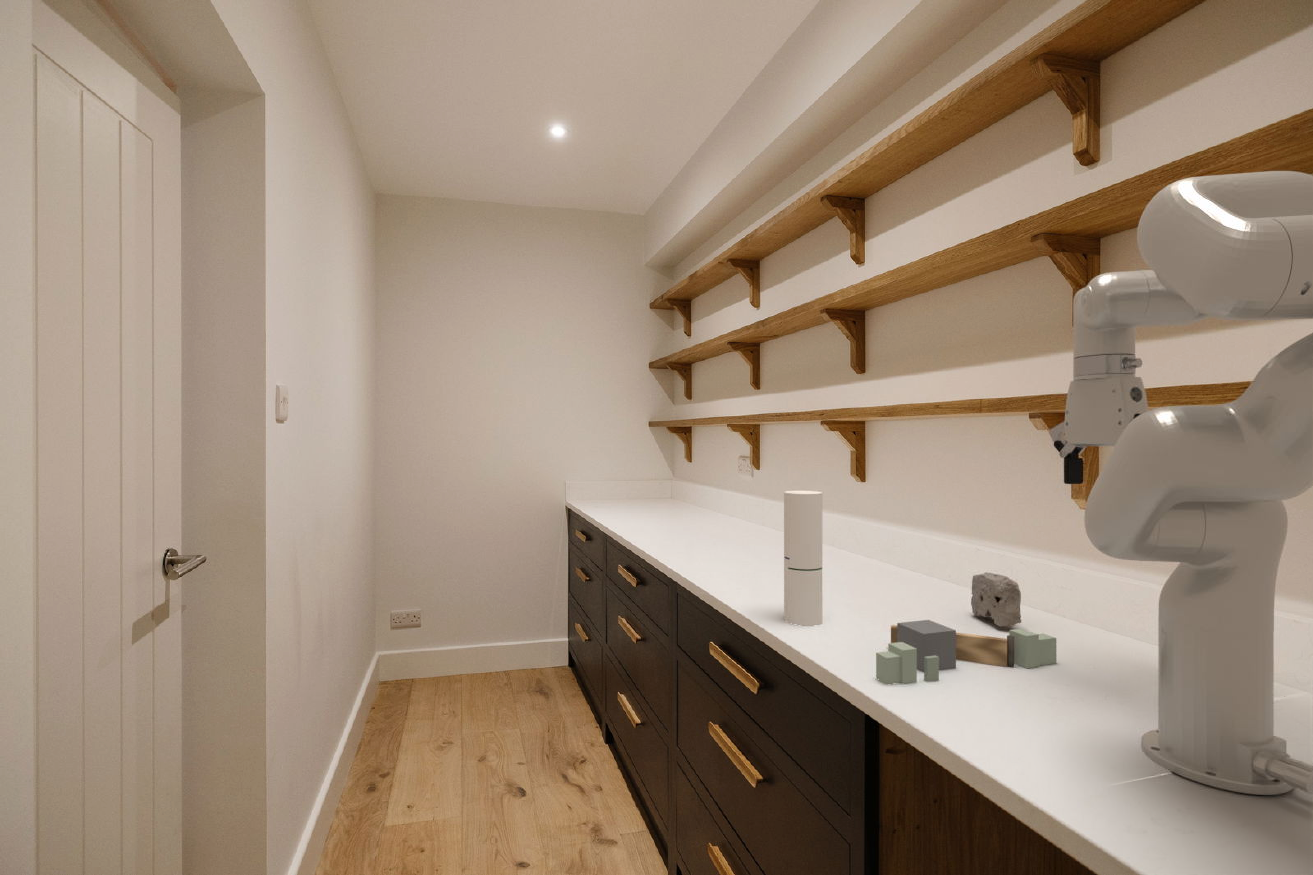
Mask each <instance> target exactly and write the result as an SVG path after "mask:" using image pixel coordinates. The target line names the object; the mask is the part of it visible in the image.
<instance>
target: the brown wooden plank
mask: <svg viewBox="0 0 1313 875" xmlns="http://www.w3.org/2000/svg"><path fill="white" fill-rule="evenodd" d="M890 643H897V624H896V625H895V624H891V626H890ZM956 661H963V662H969V663H970V662H971V663H978V664H986V665H993V666H1001V667H1009V668H1015V664H1014V636H1011V635H1006V638H1005V637H1004V638H1003V637H996V636H988V635H987V636H986V635H979V634H971V633H970V634H968V633H962V632H956Z"/></svg>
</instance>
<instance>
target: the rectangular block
mask: <svg viewBox="0 0 1313 875" xmlns="http://www.w3.org/2000/svg"><path fill="white" fill-rule="evenodd" d="M896 626H897V642H903V643H905V644H908V645H910V646H912V647H914V648H916V649H917V670H918V671H920V672H921V673H924V657H926V656H935V655H936V656H938V657H939V672H940V671H948V670H954V669H955V670H956V668H957V660H956V633H957V630H955V629H953V628H951V627H949V626H945V625H943V624H940V623H938V622H935V621H933V620H930V619H924V620H913V621H906V622H905V621H903V622H897V623H896Z"/></svg>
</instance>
